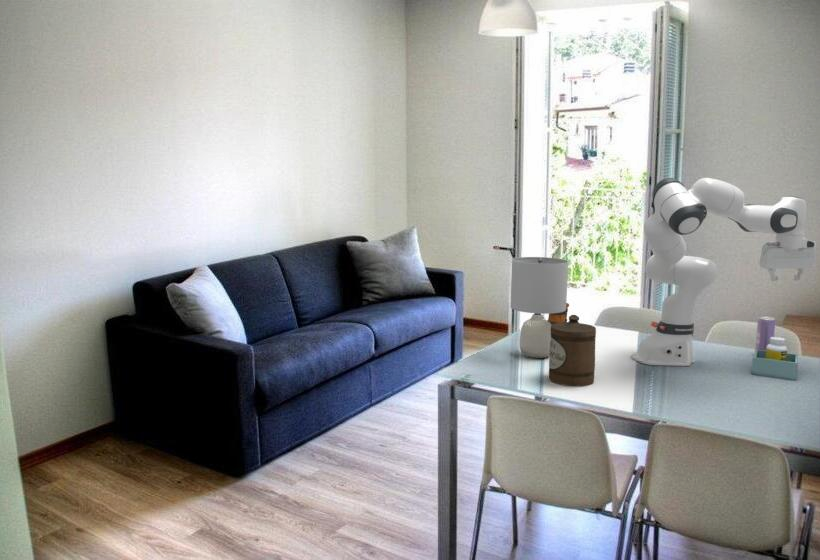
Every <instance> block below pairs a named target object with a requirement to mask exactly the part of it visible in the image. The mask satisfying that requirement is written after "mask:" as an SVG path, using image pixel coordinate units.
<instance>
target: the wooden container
mask: <svg viewBox="0 0 820 560" xmlns="http://www.w3.org/2000/svg"><path fill="white" fill-rule="evenodd" d="M568 320H569V321H567V322H564V323H555V324H552V325H551V339H550V355H549V356H548V359H549V360H548V380H549V381H551V382H552V383H555V384H557V385H558V384H559V385H562V386H570V387H584V386H588V385H592V384H593V383H594V381H595V370H596V369H595V368H596V338H597V337H596V335H597V328H596V327H595V326H594V325H591V324H586V323H582V322H581V323H580V322H579V320H580V318H579V316H578V315H577V314H570V315H569V316H568Z"/></svg>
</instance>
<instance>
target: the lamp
mask: <svg viewBox="0 0 820 560" xmlns="http://www.w3.org/2000/svg"><path fill="white" fill-rule="evenodd" d="M568 272H569V260H567V259H563V258H557V257H556V258H555V257H545V256H522V257H521V256H519V257H513V258H512V260H511V285H510V286H511V287H510V307H509V308H510V309H511V310H513V311H517V312H521V313H528V314H532V315H531V317H530V318H529V319H528V318H527V320H525V321H524V322H523V323H522V325H521V327H520V328H521V329H520V332H519V349H520V352H521V353H522V354H523V355H524V356H525V357H527V358H532V359H545V358H546V357H549V355H550V339H551V323H550V322H548V321H547V320H548V319H547V320H546V319H545V317H544V315H543V314H546V315H549V314H552V313H560V312H564V311H566V303H567V292H568V276H569V273H568Z"/></svg>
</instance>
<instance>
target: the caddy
mask: <svg viewBox="0 0 820 560" xmlns="http://www.w3.org/2000/svg"><path fill="white" fill-rule="evenodd" d="M753 354H754V355H753V357H752V366H751V375H753V376H758V377H760V376H761V377H766V378H767V377H768V378H774V379H780V380H781V379H783V380H788V381H789V380H790V381H797V374H798V364H799V363H798V362H799V354H797V353H789V352H787V356H786V361H779V360H772V359H765V358H766V351H765V350H755V349H754V353H753Z"/></svg>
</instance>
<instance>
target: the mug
mask: <svg viewBox="0 0 820 560" xmlns="http://www.w3.org/2000/svg"><path fill="white" fill-rule="evenodd" d="M569 306H570V304H569V303H568V302H566V311H564V312H560V313H552V314H548V317H547V321H548V322H550V323H551V325H552V324H555V323H564V322H568V318H567V317H568V311H569Z"/></svg>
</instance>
